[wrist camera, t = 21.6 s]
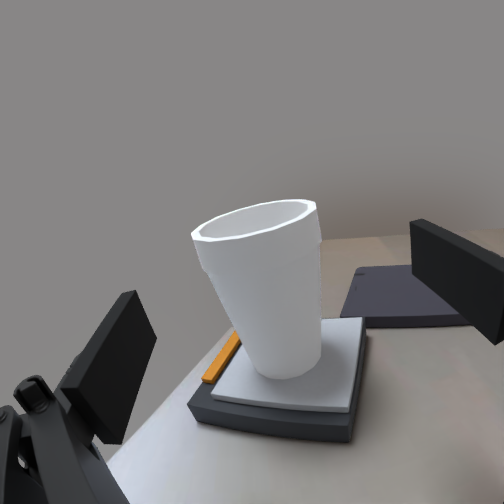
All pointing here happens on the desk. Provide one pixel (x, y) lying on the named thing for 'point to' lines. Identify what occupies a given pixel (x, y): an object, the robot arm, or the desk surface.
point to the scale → (287, 389)
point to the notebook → (396, 300)
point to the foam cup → (268, 281)
